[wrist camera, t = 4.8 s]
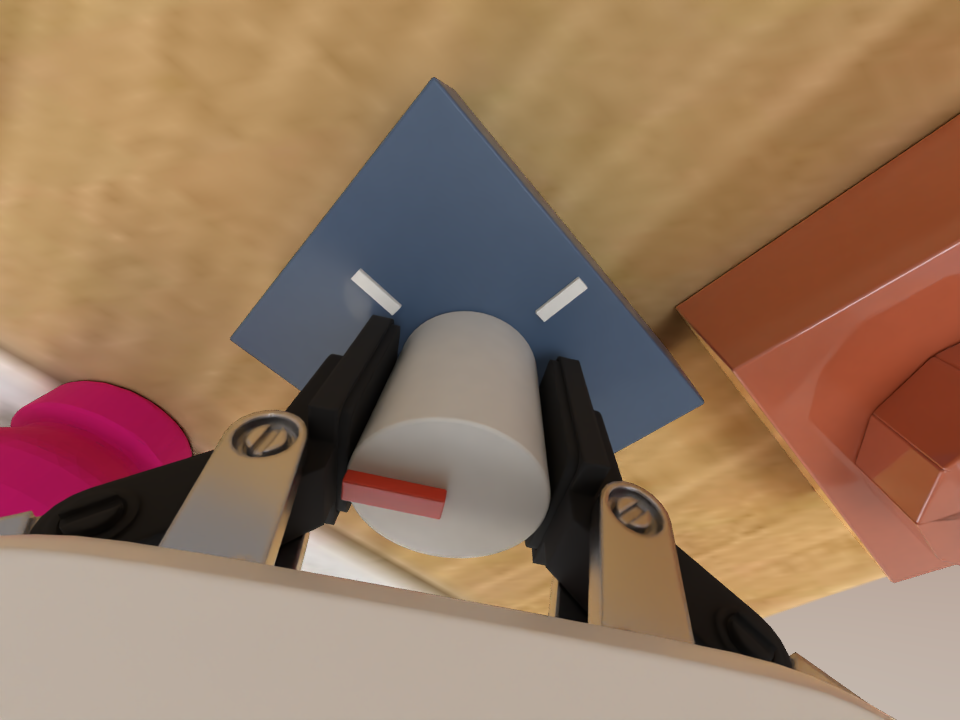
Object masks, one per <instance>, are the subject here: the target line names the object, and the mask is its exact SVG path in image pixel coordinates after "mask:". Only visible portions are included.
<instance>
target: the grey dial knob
mask: <svg viewBox="0 0 960 720" xmlns="http://www.w3.org/2000/svg"><path fill="white" fill-rule="evenodd" d="M341 499H342V500H345V501H350V502H351V503H352V505H353V506H354V508H355V510H356V511H357V513H358V514H359V515H360V517H361V518H362V519H363V520H364V521H365V522H366V523H367V524H368V525H369V526H370V527H371V528H372V529H374V530H375V531H376V532H377V533H379V534H380V535H382V536H383V537H385V538H386V539H388V540H390V541H392V542H394V543H396V544H398V545H400V546H402V547H405V548H407V549H410V550H413V551H416V552H419V553H423V554H428V555H432V556H439V557H447V558H473V557H481V556H487V555H491V554H495V553H499V552H502V551H504V550H507V549H510V548H512V547H514V546H516V545H518V544H519V543H521V542H523V541H524V540H526V539H527V538H528V537H529V536H531V535H532V534H533V533H534V532H535V531H536V530H537V528H538V527H539V526H540V525H541V523H542V521H543V520H544V518H545V516H546V513H547V511H548V508H549V504H550V481H549V473H548V464H547V455H546V446H545V437H544V428H543V420H542V411H541V402H540V393H539V384H538V375H537V367H536V361H535V358H534V355H533V352H532V350H531V348H530V346H529V344H528V343H527V342H526V340H525V339H524V337H523V336H522V335H521V334H520V333H519V332H518V331H517V330H515V329H514V328H513V327H512V326H510V325H509V324H507V323H506V322H504V321H502V320H500V319H498V318H496V317H494V316H491V315H487V314H484V313H479V312H473V311H457V312H450V313H445V314H442V315H439V316H436V317H434V318H432V319H429V320H427V321H426V322H424V323H423V324H421V325H420V326H419V327H418V328H417V329H416V330H414V331H413V333H412V334H411V335H410V336H409V338H408V339H407V341H406V343H405V344H404V347H403V349H402V351H401V353H400V355H399V357H398V359H397V361H396V363H395V365H394V368H393V370H392V372H391V374H390V376H389V378H388V380H387V382H386V384H385V386H384V389H383V391H382V393H381V395H380V397H379V399H378V401H377V403H376V405H375V407H374V410H373V412H372V414H371V416H370V418H369V420H368V422H367V424H366V426H365V428H364V431H363V433H362V435H361V437H360V439H359V441H358V443H357V445H356V447H355V449H354V452H353V454H352V456H351V458H350V461H349V463H348V467H347V471H346V473H345V476H344V478H343V480H342V492H341Z"/></svg>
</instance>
